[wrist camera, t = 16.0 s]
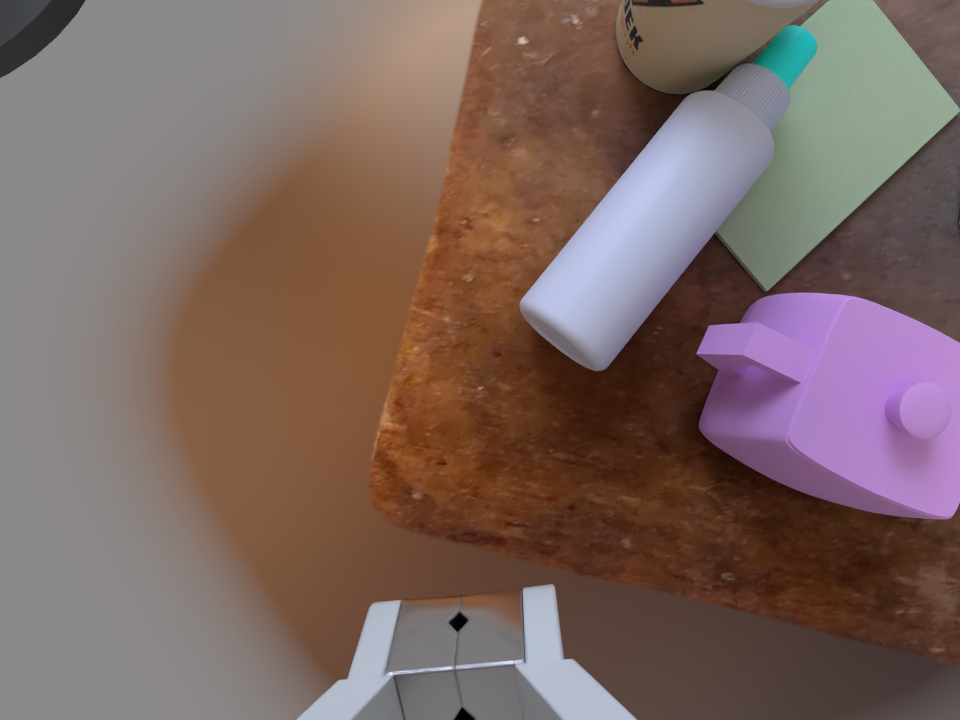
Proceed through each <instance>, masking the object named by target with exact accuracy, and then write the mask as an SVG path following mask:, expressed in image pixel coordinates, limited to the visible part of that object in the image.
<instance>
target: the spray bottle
mask: <svg viewBox="0 0 960 720" xmlns="http://www.w3.org/2000/svg"><path fill="white" fill-rule="evenodd" d="M816 53H817V42H816V40H815V38H814V37H813V35H812V34H811V33H810V32H809V31H807V30H806V29H804V28H802V27H799V26H794V25H791V26H786V27H785V28H784V29H783V30H781V31H780V32H779V33H777V35H776V36H775V37H774V38H773V39H772V41H771V42H770V43H769V44H768V45H767V46H766V48H765V49H764V50H763V51H762V52H761V54H760V55H759V56H758V57H757V58H756V60H755V61H754V62H753V63H752V64H750V63H748V64H742V65H740V66H737V67H735V68H734V69H733V70H732V71H731V73H730V74H729V75H728V76H727V77H726V78H725V79H724V80H723V81H722V83H721V84H720V85H719V86H718V87H717V88H716V89H715V90H714V91H709V90H708V91H698V92H695V93H692V94H690V95H688V96H687V97H686V98H685V99H684V100H683V101H682V102H681V103H680V105H679V106H678V107H677V108H676V110H675V111H674V112H673V113H672V115H671V116H670V117H669V118H668V120H667V121H666V122H665V123H664V124H663V126H662V127H661V128H660V129H659V131H658V132H657V133H656V134H655V136H654V137H653V138H652V139H651V140H650V142H649V143H648V144H647V145H646V147H645V148H644V149H643V150H642V152H641V153H640V154H639V155H638V157H637V158H636V159H635V160H634V161H633V163H632V164H631V165H630V166H629V168H628V169H627V170H626V171H625V173H624V174H623V175H622V176H621V177H620V179H619V180H618V181H617V182H616V184H615V185H614V186H613V187H612V189H611V190H610V191H609V192H608V193H607V195H606V196H605V197H604V198H603V200H602V201H601V202H600V203H599V205H598V206H597V207H596V208H595V210H594V211H593V212H592V213H591V214H590V216H589V217H588V218H587V219H586V221H585V222H584V223H583V224H582V226H581V227H580V228H579V229H578V230H577V232H576V233H575V234H574V235H573V237H572V238H571V239H570V240H569V242H568V243H567V244H566V245H565V247H564V248H563V249H562V250H561V251H560V253H559V254H558V255H557V256H556V258H555V259H554V260H553V261H552V263H551V264H550V265H549V266H548V267H547V269H546V270H545V271H544V272H543V274H542V275H541V276H540V277H539V279H538V280H537V281H536V282H535V284H534V285H533V286H532V287H531V288H530V290H529V291H528V292H527V293H526V295H525V296H524V297H523V298H522V300H521V301H520V311H521V314H522V315H523V317H524V318H525V320H526V321H527V322H528V323H529V324H530V325H531V326H532V327H533V328H534V329H535V330H536V331H537V332H538V333H539V334H540V335H541V336H542V337H543V338H545V339H546V340H547V341H548V342H549V343H551V344H552V345H553V346H554V347H556V348H557V349H558V350H559V351H561V352H562V353H564V354H565V355H566V356H568V357H569V358H571V359H572V360H574V361H575V362H577V363H578V364H580V365H582V366H584V367H586V368H588V369H590V370H594V371H602V370H604V369H606V368H607V367H608V366H609V365H610V364H611V362H612V361H613V360H614V359H615V357H616V356H617V355H618V354H619V352H620V351H621V350H622V349H623V347H624V346H625V345H626V343H627V342H628V341H629V340H630V338H631V337H632V336H633V335H634V333H635V332H636V331H637V330H638V328H639V327H640V326H641V325H642V323H643V322H644V321H645V320H646V318H647V317H648V316H649V315H650V313H651V312H652V311H653V310H654V308H655V307H656V306H657V305H658V303H659V302H660V301H661V300H662V298H663V297H664V296H665V294H666V293H667V292H668V291H669V289H670V288H671V287H672V286H673V284H674V283H675V282H676V281H677V279H678V278H679V277H680V276H681V274H682V273H683V272H684V271H685V269H686V268H687V267H688V266H689V264H690V263H691V262H692V261H693V259H694V258H695V257H696V256H697V254H698V253H699V252H700V251H701V249H702V248H703V247H704V245H705V244H706V243H707V242H708V240H709V239H710V238H711V237H712V235H713V234H714V233H715V232H716V230H717V229H718V228H719V227H720V225H721V224H722V223H723V222H724V220H725V219H726V218H727V217H728V215H729V214H730V213H731V212H732V210H733V209H734V208H735V207H736V205H737V204H738V203H739V201H740V200H741V199H742V198H743V196H744V195H745V194H746V193H747V191H748V190H749V189H750V188H751V186H752V185H753V184H754V183H755V181H756V180H757V179H758V178H759V176H760V175H761V174H762V173H763V171H764V170H765V169H766V168H767V166H768V165H769V164H770V162H771V161H772V159H773V155H774V141H773V137H772V135H771V131H772V130H773V129H774V127H775V126H776V124H777V123H778V122H779V120H780V119H781V117H782V116H783V115H784V113H785V112H786V110H787V109H788V108H789V104H790V101H791V100H790V94H789V91H788V90H789V89H790V87H791V86H792V85H793V83H794V82H795V81H796V80H797V78H798V77H799V76H800V74H801V73H802V72H803V70H804V69H805V68H806V66H807V65H808V64H809V63H810V61H811V60H812V59H813V57H814V56H815V55H816Z"/></svg>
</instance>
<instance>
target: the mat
mask: <svg viewBox="0 0 960 720" xmlns="http://www.w3.org/2000/svg"><path fill="white" fill-rule="evenodd" d="M800 27H802V28H804V29H806V30H807V31H809V32H810V33H811V34H812V35H813V37H814V38H815V40H816V42H817V53H816V55H815V56H814V57H813V59H812V60H811V61H810V63H809V64H808V65H807V66H806V68H805V69H804V70H803V72H802V73H801V74H800V76H799V77H798V78H797V80H796V81H795V82H794V83H793V85H792V86H791V87H790V89H789V90H788V91H789V94H790V100H791V101H790V104H789V108H788V109H787V110H786V112H785V113H784V115H783V116H782V117H781V119H780V120H779V122H778V123H777V124H776V126H775V127H774V129H773V130H772V131H771V135H772V137H773V141H774V155H773V159H772V161H771V162H770V164H769V165H768V166H767V168H766V169H765V170H764V171H763V173H762V174H761V175H760V176H759V178H758V179H757V180H756V181H755V183H754V184H753V185H752V186H751V188H750V189H749V190H748V191H747V193H746V194H745V195H744V196H743V198H742V199H741V200H740V201H739V203H738V204H737V205H736V207H735V208H734V209H733V210H732V212H731V213H730V214H729V215H728V217H727V218H726V219H725V220H724V222H723V223H722V224H721V225H720V227H719V228H718V229H717V230H716V232H715V234H716V236H717V237H718V238H719V239H720V240H721V242H722V243H723V244H724V245H725V246H726V248H727V249H728V250H729V251H730V252H731V254H732V255H733V256H734V257H735V258H736V259H737V261H738V262H739V263H740V264H741V265H742V267H743V268H744V269H745V270H746V271H747V273H748V274H749V275H750V276H751V277H752V279H753V280H754V281H755V282H756V283H757V284H758V286H759V287H760V288H761V289H762V290H763V292H767V291H768V290H769V289H771V288H772V287H773V286H774V285H775V284H776V283H777V282H778V281H779V280H780V279H781V278H782V277H783V276H784V275H785V274H787V273H788V272H789V271H790V270H791V269H792V268H793V267H794V266H795V265H796V264H797V263H798V262H799V261H800V260H802V259H803V258H804V257H805V256H806V255H807V254H808V253H809V252H810V251H811V250H812V249H813V248H814V247H815V246H817V245H818V244H819V243H820V242H821V241H822V240H823V239H824V238H825V237H826V236H827V235H828V234H829V233H830V232H832V231H833V230H834V229H835V228H836V227H837V226H838V225H839V224H840V223H841V222H842V221H843V220H844V219H845V218H846V217H848V216H849V215H850V214H851V213H852V212H853V211H854V210H855V209H856V208H857V207H858V206H859V205H860V204H861V203H863V202H864V201H865V200H866V199H867V198H868V197H869V196H870V195H871V194H872V193H873V192H874V191H875V190H876V189H878V188H879V187H880V186H881V185H882V184H883V183H884V182H885V181H886V180H887V179H888V178H889V177H890V176H891V175H893V174H894V173H895V172H896V171H897V170H898V169H899V168H900V167H901V166H902V165H903V164H904V163H905V162H906V161H907V160H909V159H910V158H911V157H912V156H913V155H914V154H915V153H916V152H917V151H918V150H919V149H920V148H921V147H922V146H924V145H925V144H926V143H927V142H928V141H929V140H930V139H931V138H932V137H933V136H934V135H935V134H936V133H937V132H939V131H940V130H941V129H942V128H943V127H944V126H945V125H946V124H947V123H948V122H949V121H950V120H951V119H952V118H954V117H955V116H956V115H957V114H958V113H959V112H960V109H959V107H958V106H957V105H956V104H955V102H954V101H953V100H952V99H951V97H950V96H949V95H948V94H947V92H946V91H945V90H944V89H943V87H942V86H941V85H940V84H939V82H938V81H937V80H936V79H935V77H934V76H933V75H932V74H931V72H930V71H929V70H928V69H927V67H926V66H925V65H924V64H923V62H922V61H921V60H920V59H919V57H918V56H917V55H916V54H915V52H914V51H913V50H912V49H911V47H910V46H909V45H908V43H907V42H906V41H905V40H904V38H903V37H902V36H901V35H900V33H899V32H898V31H897V30H896V28H895V27H894V26H893V25H892V23H891V22H890V21H889V20H888V18H887V17H886V16H885V15H884V13H883V12H882V11H881V10H880V8H879V7H878V6H877V5H876V3H875V2H874V1H873V0H829V1H828V2H827V3H826V4H825V5H824V6H822V7H821V8H820V9H819V10H818V11H817V12H816V13H814V14H813V15H812V16H811V17H810V18H809V19H808V20H807V21H805V22H804V23H803V24H802V25H801V26H800Z"/></svg>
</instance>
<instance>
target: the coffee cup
mask: <svg viewBox="0 0 960 720" xmlns="http://www.w3.org/2000/svg"><path fill="white" fill-rule="evenodd" d="M818 1H819V0H622V3H621V5H620V8H619V12H618V16H617V21H616V38H617V44H618V48H619V51H620V54H621V56H622V58H623V60H624V62H625V64H626V65H627V67H628V68H629V70H630V71H631V72H632V73H633V74H634V75H635V76H636V77H637V78H638V79H639V80H640V81H641V82H643V83H644V84H645V85H647V86H649V87H651V88H653V89H655V90H658V91H661V92H664V93H669V94H687V93H692V92H696V91H698V90H701V89H703V88H705V87H707V86H709V85H710V84H712V83H713V82H715V81H716V80H717V79H719V78H720V77H722V76H723V75H724V74H726V73H727V72H728V71H730V70H731V69H732V68H734V67H735V66H736V65H737V64H739V63H740V62H741V61H743V60H744V59H745V58H747V57H748V56H749V55H750V54H752V53H753V52H754V51H756V50H757V49H758V48H759V47H761V46H762V45H763V44H765V43H766V42H767V41H769V40H770V39H771V38H772V37H774V36H775V35H776V34H777V33H779V32H780V31H781V30H783V29H784V28H785V27H786V26H788V25H789V24H790V23H792V22H793V21H794V20H795V19H797V18H798V17H799V16H800V15H802V14H803V13H804V12H806V11H807V10H808V9H809V8H811V7H812V6H813V5H814V4H815V3H817V2H818Z"/></svg>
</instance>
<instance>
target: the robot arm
mask: <svg viewBox="0 0 960 720" xmlns="http://www.w3.org/2000/svg"><path fill="white" fill-rule="evenodd" d="M297 720H637V719H636V718H635V717H634V716H633V715H632V714H630V713H629V712H628V711H627V710H626V709H625V708H624V707H623V706H622V705H621V704H620V703H619V702H618V701H617V700H616V699H615V698H614V697H613V696H612V695H610V693H608V692H607V691H606V690H605V689H604V688H603V687H602V686H601V685H600V684H599V683H598V682H597V681H596V680H595V679H594V678H593V677H592V676H591V675H590V674H589V673H587V672H586V671H585V670H584V669H583V668H582V667H581V666H580V665H579V664H578V663H577V662H576V661H575V660H574V659H566V660H564V653H563V645H562V637H561V631H560V622H559V615H558V607H557V599H556V592H555V587H554V586H553V584H550V585H543V586H534V587H528V588H523V589H519V590H510V591H500V592H491V593H481V594H472V595H457V596H444V597H432V598H418V599H405V600H403V601H402V600H397V601H385V602H374V603H373V604H372V605H371V606H370V608H369V609H368V613H367V616H366V620H365V623H364V626H363V629H362V633H361V636H360V639H359V643H358V646H357V649H356V653H355V656H354V659H353V662H352V666H351V669H350V672H349V676H348V679H347V680H338V681H337V682H336V683H335V684H334V685H333V686H332V687H331V688H330V689H329V690H328V691H326V692H325V693H324V694H323V695H322V696H321V697H320V698H319V699H318V700H317V701H316V702H315V703H314V704H312V705H311V706H310V707H309V708H308V709H307V710H306V711H305V712H304V713H303V714H302V715H301V716H300V717H299V718H298V719H297Z"/></svg>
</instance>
